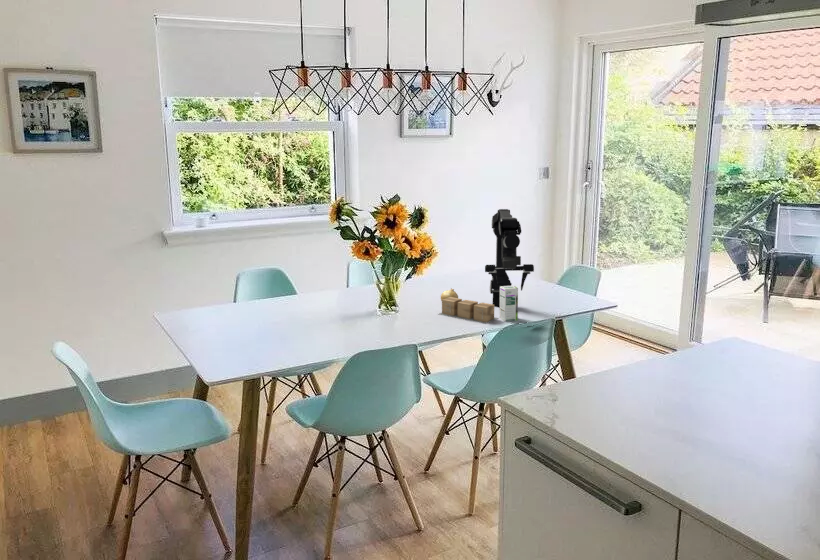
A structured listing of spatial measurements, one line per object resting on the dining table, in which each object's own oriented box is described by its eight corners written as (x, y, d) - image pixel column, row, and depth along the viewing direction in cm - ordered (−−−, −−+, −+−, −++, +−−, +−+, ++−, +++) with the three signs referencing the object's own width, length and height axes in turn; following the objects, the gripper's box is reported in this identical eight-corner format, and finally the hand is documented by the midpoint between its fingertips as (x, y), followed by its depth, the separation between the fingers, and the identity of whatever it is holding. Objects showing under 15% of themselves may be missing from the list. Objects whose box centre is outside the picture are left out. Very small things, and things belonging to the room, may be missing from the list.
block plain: (465, 313, 291) (465, 299, 289) (477, 315, 287) (477, 301, 286) (457, 316, 286) (457, 302, 285) (469, 318, 282) (469, 304, 281)
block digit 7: (481, 316, 286) (481, 302, 284) (494, 318, 282) (494, 304, 281) (473, 319, 281) (473, 305, 280) (485, 322, 277) (486, 307, 276)
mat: (451, 311, 298) (451, 309, 298) (498, 320, 283) (498, 318, 283) (437, 316, 290) (437, 314, 290) (485, 326, 276) (485, 323, 275)
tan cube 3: (450, 310, 295) (450, 296, 294) (461, 312, 292) (461, 299, 290) (441, 313, 291) (441, 299, 289) (453, 315, 287) (453, 301, 286)
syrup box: (504, 323, 278) (505, 288, 275) (499, 320, 284) (499, 285, 281) (517, 322, 280) (518, 287, 277) (511, 318, 285) (512, 284, 282)
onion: (457, 306, 306) (457, 291, 304) (439, 306, 307) (439, 290, 306) (459, 302, 313) (459, 287, 312) (442, 301, 315) (442, 286, 313)
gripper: (484, 249, 263) (484, 290, 262) (534, 249, 260) (534, 290, 260) (485, 251, 274) (485, 290, 274) (533, 250, 271) (533, 290, 271)
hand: (509, 290), depth 269 cm, fingers open, 9 cm apart
